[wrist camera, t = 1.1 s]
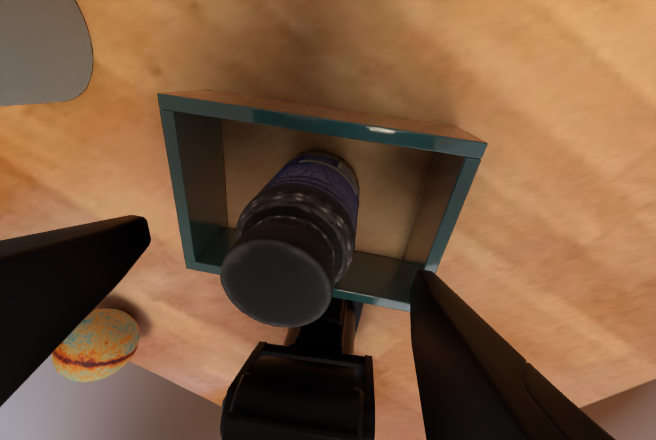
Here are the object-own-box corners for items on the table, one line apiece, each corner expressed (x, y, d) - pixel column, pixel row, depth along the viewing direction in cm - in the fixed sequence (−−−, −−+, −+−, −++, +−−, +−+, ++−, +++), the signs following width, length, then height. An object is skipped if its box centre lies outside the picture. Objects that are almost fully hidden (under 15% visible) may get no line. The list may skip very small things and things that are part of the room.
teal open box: (409, 268, 23) (419, 314, 18) (219, 233, 24) (185, 268, 19) (458, 126, 17) (488, 143, 13) (207, 89, 18) (156, 92, 14)
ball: (147, 346, 33) (97, 406, 27) (93, 320, 32) (28, 376, 26) (160, 314, 30) (106, 374, 24) (100, 284, 29) (28, 339, 23)
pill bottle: (276, 147, 19) (183, 216, 10) (361, 148, 19) (351, 223, 9) (285, 222, 22) (219, 333, 13) (358, 226, 21) (349, 347, 12)
